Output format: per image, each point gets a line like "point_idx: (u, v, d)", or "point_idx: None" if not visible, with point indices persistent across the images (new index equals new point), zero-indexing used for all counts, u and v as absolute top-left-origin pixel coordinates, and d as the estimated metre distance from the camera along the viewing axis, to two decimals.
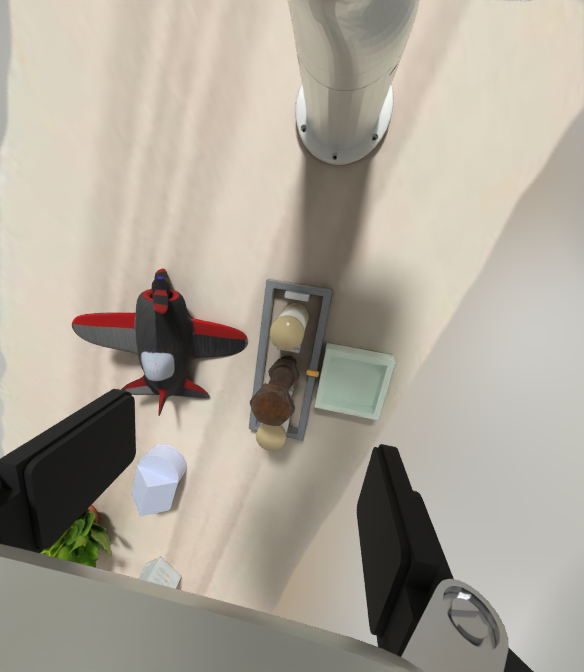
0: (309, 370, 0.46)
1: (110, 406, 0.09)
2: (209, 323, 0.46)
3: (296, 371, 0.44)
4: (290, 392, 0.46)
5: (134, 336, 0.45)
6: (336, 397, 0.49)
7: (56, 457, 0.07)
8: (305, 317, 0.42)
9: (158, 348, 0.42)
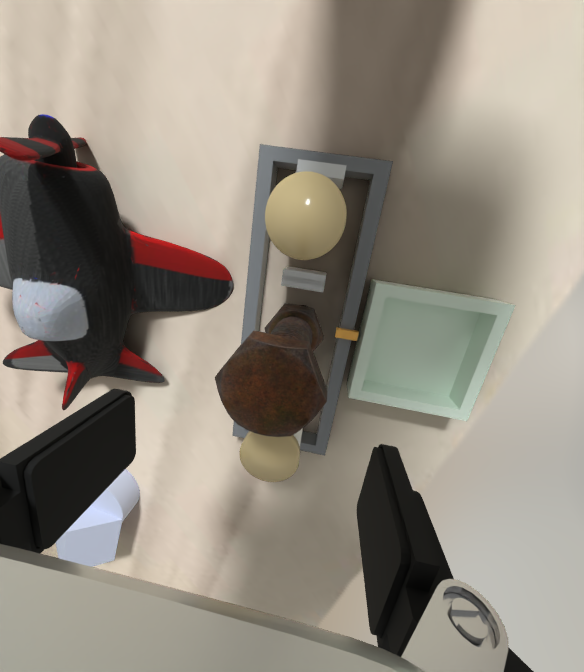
0: (340, 329, 0.25)
1: (110, 406, 0.09)
2: (162, 243, 0.25)
3: (318, 327, 0.23)
4: None
5: None
6: (385, 380, 0.28)
7: (56, 457, 0.07)
8: None
9: (47, 273, 0.20)
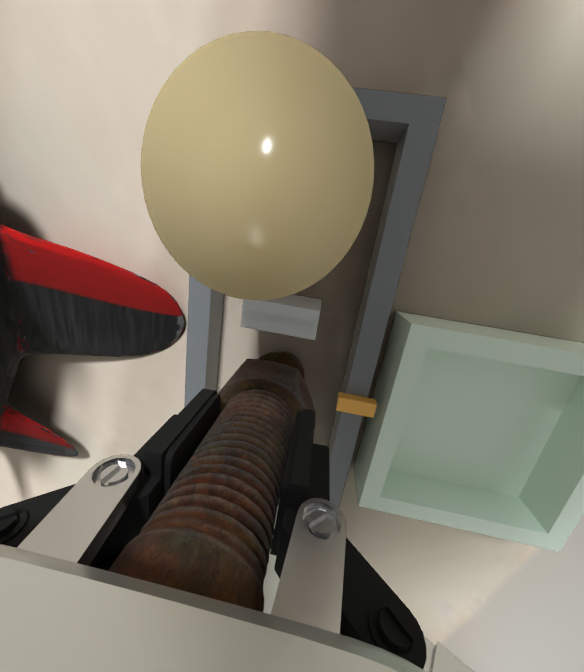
0: (346, 396, 0.15)
1: (207, 404, 0.10)
2: (60, 250, 0.15)
3: (307, 404, 0.12)
4: None
5: None
6: (416, 469, 0.17)
7: (182, 448, 0.08)
8: None
9: None
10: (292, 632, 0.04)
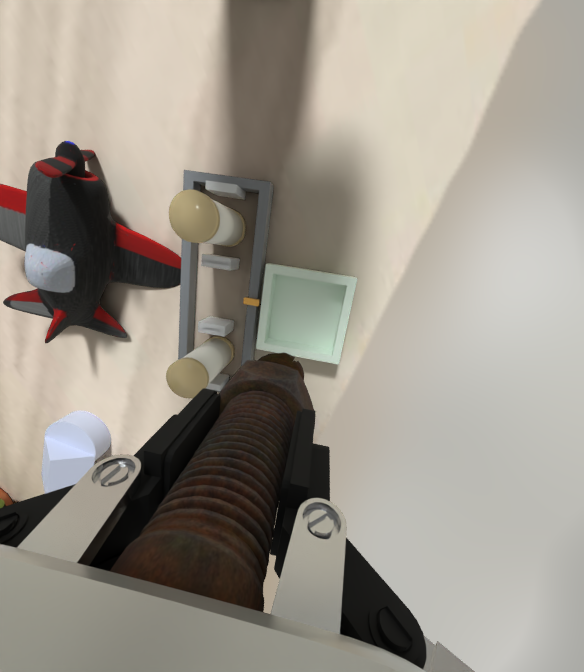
0: (247, 298, 0.35)
1: (207, 404, 0.10)
2: (138, 235, 0.35)
3: (306, 405, 0.12)
4: (223, 327, 0.35)
5: None
6: (286, 338, 0.38)
7: (182, 448, 0.08)
8: (234, 216, 0.31)
9: (52, 243, 0.30)
10: (292, 632, 0.04)
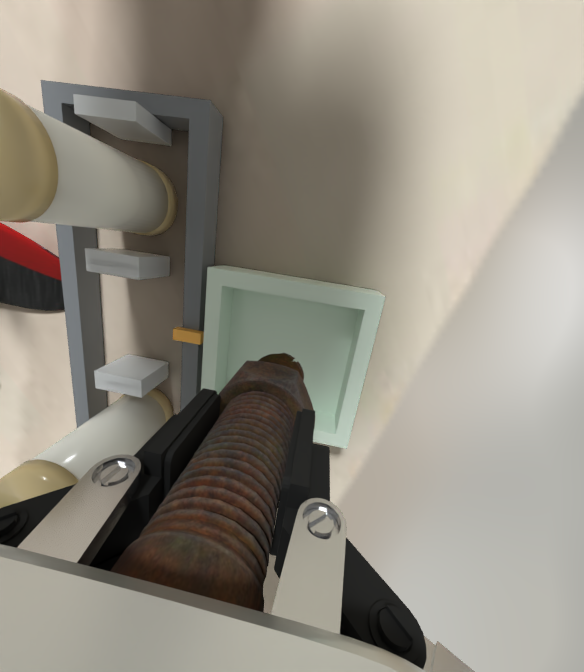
0: (180, 329, 0.19)
1: (207, 404, 0.10)
2: None
3: (306, 406, 0.12)
4: (137, 382, 0.20)
5: None
6: None
7: (182, 448, 0.08)
8: (135, 170, 0.15)
9: None
10: (292, 632, 0.04)
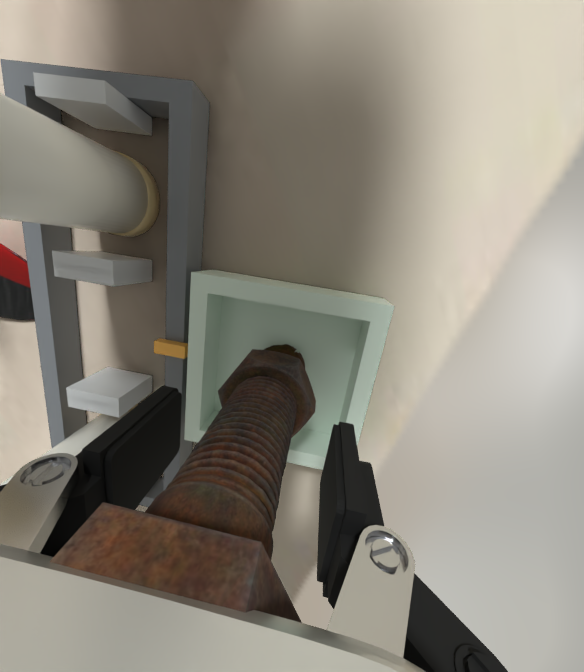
0: (162, 341, 0.17)
1: (164, 401, 0.10)
2: None
3: (308, 390, 0.13)
4: (114, 400, 0.17)
5: None
6: None
7: (128, 447, 0.08)
8: (104, 159, 0.13)
9: None
10: (292, 632, 0.04)
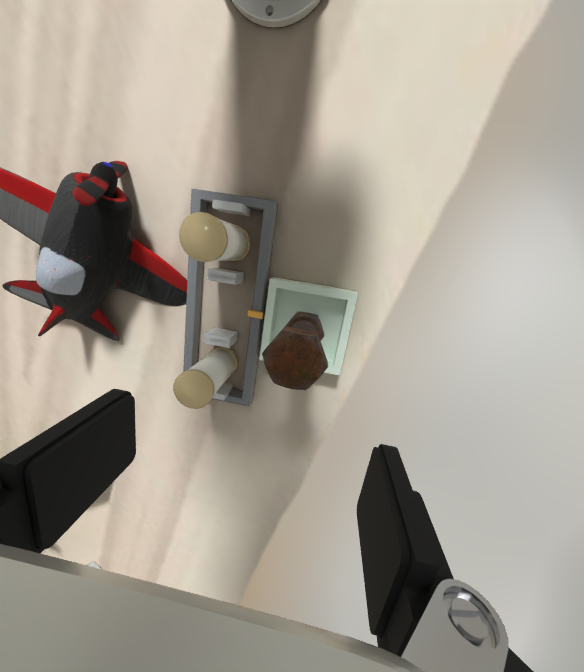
0: (251, 310, 0.36)
1: (110, 406, 0.09)
2: (153, 254, 0.36)
3: (321, 327, 0.32)
4: (227, 339, 0.36)
5: None
6: None
7: (56, 457, 0.07)
8: (239, 233, 0.32)
9: (68, 252, 0.31)
10: (292, 632, 0.04)
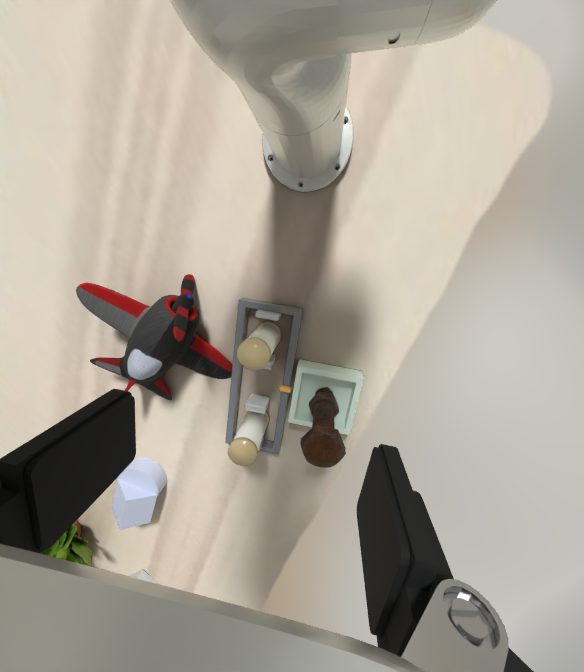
0: (282, 386, 0.47)
1: (110, 406, 0.09)
2: (209, 346, 0.47)
3: (337, 405, 0.44)
4: (264, 407, 0.48)
5: (133, 323, 0.45)
6: (310, 412, 0.50)
7: (56, 457, 0.07)
8: (275, 336, 0.43)
9: (153, 353, 0.42)
10: (292, 632, 0.04)
